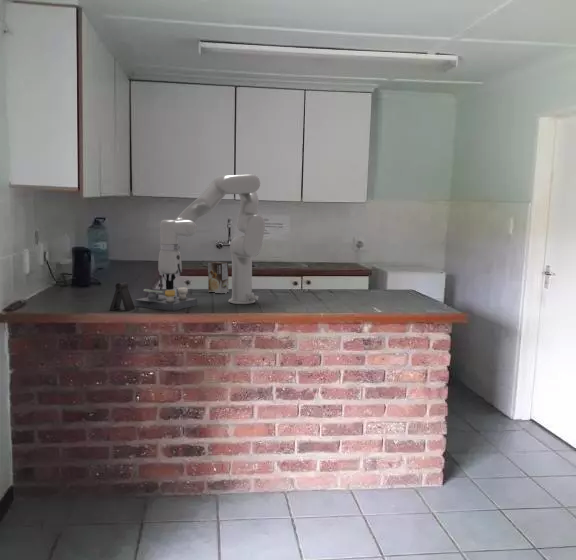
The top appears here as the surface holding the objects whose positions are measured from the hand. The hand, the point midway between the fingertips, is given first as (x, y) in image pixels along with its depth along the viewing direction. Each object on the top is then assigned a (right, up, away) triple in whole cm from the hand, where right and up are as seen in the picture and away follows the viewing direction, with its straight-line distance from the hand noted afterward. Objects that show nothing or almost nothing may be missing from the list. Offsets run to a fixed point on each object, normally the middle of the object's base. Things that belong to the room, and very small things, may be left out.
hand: (169, 289), depth 263 cm
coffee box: (+16, -3, +47) cm, 50 cm away
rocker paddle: (-10, -2, +11) cm, 15 cm away
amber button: (0, -6, +1) cm, 6 cm away
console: (-3, -8, +8) cm, 11 cm away
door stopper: (-20, -9, -3) cm, 22 cm away
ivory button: (+4, -5, +9) cm, 11 cm away
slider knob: (-1, -4, +13) cm, 13 cm away
